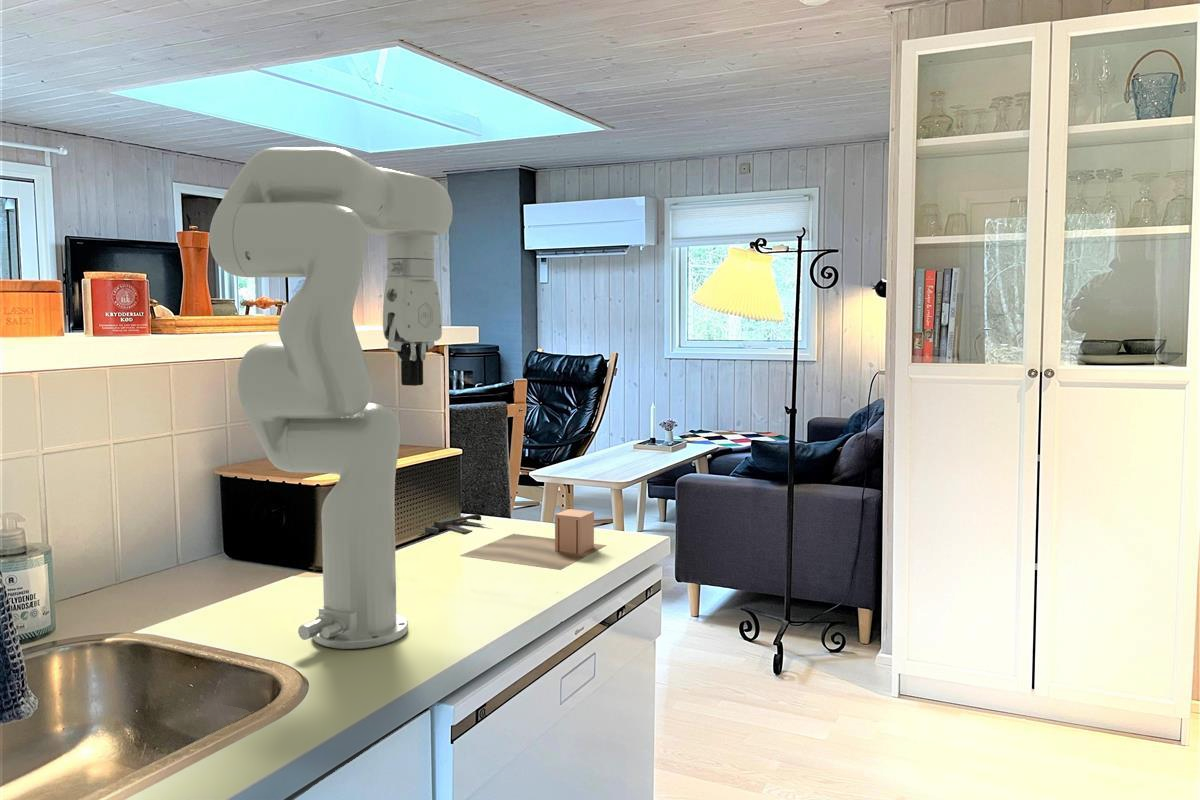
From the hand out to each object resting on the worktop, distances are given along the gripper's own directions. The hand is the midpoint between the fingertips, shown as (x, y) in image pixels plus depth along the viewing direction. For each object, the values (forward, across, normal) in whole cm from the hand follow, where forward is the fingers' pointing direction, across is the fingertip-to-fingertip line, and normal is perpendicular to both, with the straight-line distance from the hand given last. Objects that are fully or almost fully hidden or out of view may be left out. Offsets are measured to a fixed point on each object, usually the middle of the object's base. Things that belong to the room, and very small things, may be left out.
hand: (412, 384), depth 145 cm
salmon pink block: (+31, +23, -18) cm, 42 cm away
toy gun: (+33, +31, +10) cm, 46 cm away
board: (+32, +19, -12) cm, 39 cm away
